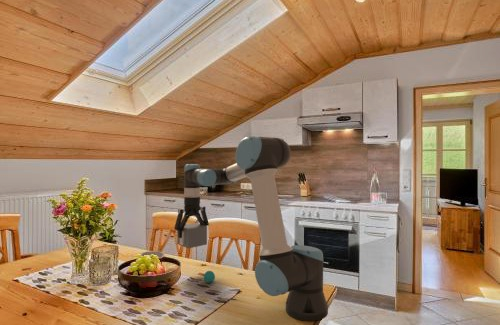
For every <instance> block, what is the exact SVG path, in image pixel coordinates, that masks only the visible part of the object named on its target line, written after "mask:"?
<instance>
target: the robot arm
mask: <svg viewBox="0 0 500 325" xmlns="http://www.w3.org/2000/svg"><path fill="white" fill-rule="evenodd" d="M291 154H292V152H291V148H290V146H289V144H288V143H287V142H286V141H285V140H284V139H281V138H279V137H271V136H270V137H269V136H259V135H254V136H246V137H244V138H242V139H241V140H240V141H239V143H238V144H237V147H236V150H235V162H236V163H233V164H232V165H229V166H227V167H225V168H224V167H223V168H201V165H200V164H196V163H195V164H194V163H191V164H189V163H187V164H185V165H184V171H183V176H184V177H183V181H184V182H183V183H184V184H183V186H184V187H183V188H184V190H183V191H184V192H183V193H184V194H183V195H184V199H183V204H184V207H183V208H178V209H177V212H178V213H177V217H176V221H175V225H174V228H173V229H174V231H177V230H178V237H179V238H180V244H181V245H184V231H182V230H183V228H184V226H185V224H187V222H188V220H189V219H190V218H191V217H192V216H193V217H196V219H197V221H198V224H201V225H205V226H207V227H208V226H209V225H210V224H209V223H210V222H209V220H208V216H207V212H206V206H205V205H204V206H203V205H201V197H200V196H201V186H203V187H211V186H218V185H233V184H237V183H238V181H239V180H242V179H244V178H247V179H249V180H250V184H251V189H252V190H251V191H252V196H253V201H254V207H255V214H256V218H257V219H256V220H257V224H258V225H257V226H258V229H259V230H258V231H259V235H260V240H261V241H260V242H261V250H260V252H259V254H258V256H259V261H258V262H257V263H256V265H255V268H254V276H255V280H256V283H257V285H258V287H259V288H260V289H261V290H262V291H263V292H264V293H265V294H266V295H268V296H271V297H278V296H280V295H281V296H282V295H285V294H287V293H288V295H287V298H286V300H285V312H286V313H287V314H288V315H289V316H290V317H291V318H294V319H296V320H299V321H306V322H316V321H320V320H323V319H325V318H327V317H328V314H329V306H328V303H327V300H326V296H325V293H324V253H323V251H322V250H321V249H320V248H317V247H314V246H310V245H303V244H302V245H300V244H295V245H292V246H290V245H289V244H288V241H287V236H286V230H285V227H284V226H285V225H284V224H285V223H284V219H283V213H282V210H281V209H282V208H281V204H280V198H279V195H278V194H279V193H278V189H277V188H278V187H277V182H276V179H275V176H276V174H277V172H278V171H279V170H278V169H281V168H283V167H284V166H286V165H287V164H288V163H289V161H290V160H291V156H292V155H291ZM181 245H180V246H181Z"/></svg>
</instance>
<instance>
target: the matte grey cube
mask: <svg viewBox="0 0 500 325" xmlns="http://www.w3.org/2000/svg"><path fill="white" fill-rule="evenodd" d="M182 231H184V245H181V244H180V238H179V237H178V230H176V236H177V238H176V242H177V243H176V244H177V245H178V246H182V247H184V248H186V249H193V248H197V247H201V246H206V245H207V244H208V226H205V225H201V224H200V223H199V222H198V223H197V222H193V223H186V224H185V226H184V228H183V230H182Z"/></svg>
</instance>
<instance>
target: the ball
mask: <svg viewBox="0 0 500 325" xmlns="http://www.w3.org/2000/svg"><path fill="white" fill-rule="evenodd" d="M215 278H216V275H215V273H214V271H211V270H207V271H206V272H204V274H203V281H205V283H207V284H210V283H213V282H214V281H215Z"/></svg>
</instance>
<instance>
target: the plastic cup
mask: <svg viewBox="0 0 500 325" xmlns="http://www.w3.org/2000/svg"><path fill="white" fill-rule="evenodd" d="M151 254H154V255H157V256H158V257H159V260H160V262H161V265H162V264H163V263H162V262H163V259H164V257H165V255H166V254H165V253H164V252H162V251H158V250H150V251H149V250H148V251H144V252H141V253H140V254H139V257H140V256H144V255H151Z"/></svg>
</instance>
